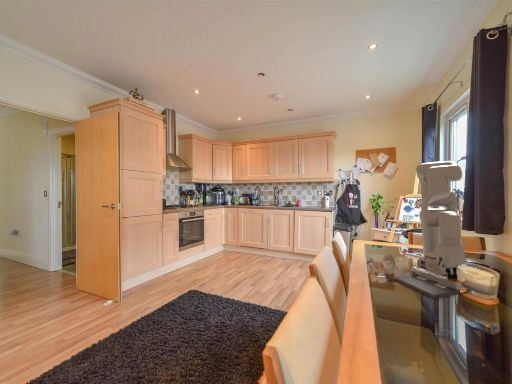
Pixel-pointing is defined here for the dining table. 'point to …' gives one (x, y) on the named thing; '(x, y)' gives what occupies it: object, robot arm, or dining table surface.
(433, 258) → the teacup with lid
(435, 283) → the tray
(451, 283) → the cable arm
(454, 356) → the dining table surface
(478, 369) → the dining table surface
